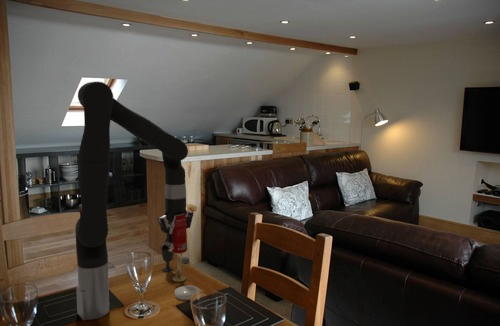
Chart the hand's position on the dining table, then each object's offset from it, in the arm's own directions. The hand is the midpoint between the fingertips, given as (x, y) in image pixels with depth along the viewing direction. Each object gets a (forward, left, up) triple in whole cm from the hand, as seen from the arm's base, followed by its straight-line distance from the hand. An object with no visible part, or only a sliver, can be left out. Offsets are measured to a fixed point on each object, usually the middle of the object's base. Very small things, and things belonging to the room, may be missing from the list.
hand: (176, 241), depth 143 cm
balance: (+6, +9, -20) cm, 23 cm away
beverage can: (+1, 0, -4) cm, 5 cm away
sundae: (+7, +20, -20) cm, 29 cm away
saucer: (+2, -4, -20) cm, 20 cm away
